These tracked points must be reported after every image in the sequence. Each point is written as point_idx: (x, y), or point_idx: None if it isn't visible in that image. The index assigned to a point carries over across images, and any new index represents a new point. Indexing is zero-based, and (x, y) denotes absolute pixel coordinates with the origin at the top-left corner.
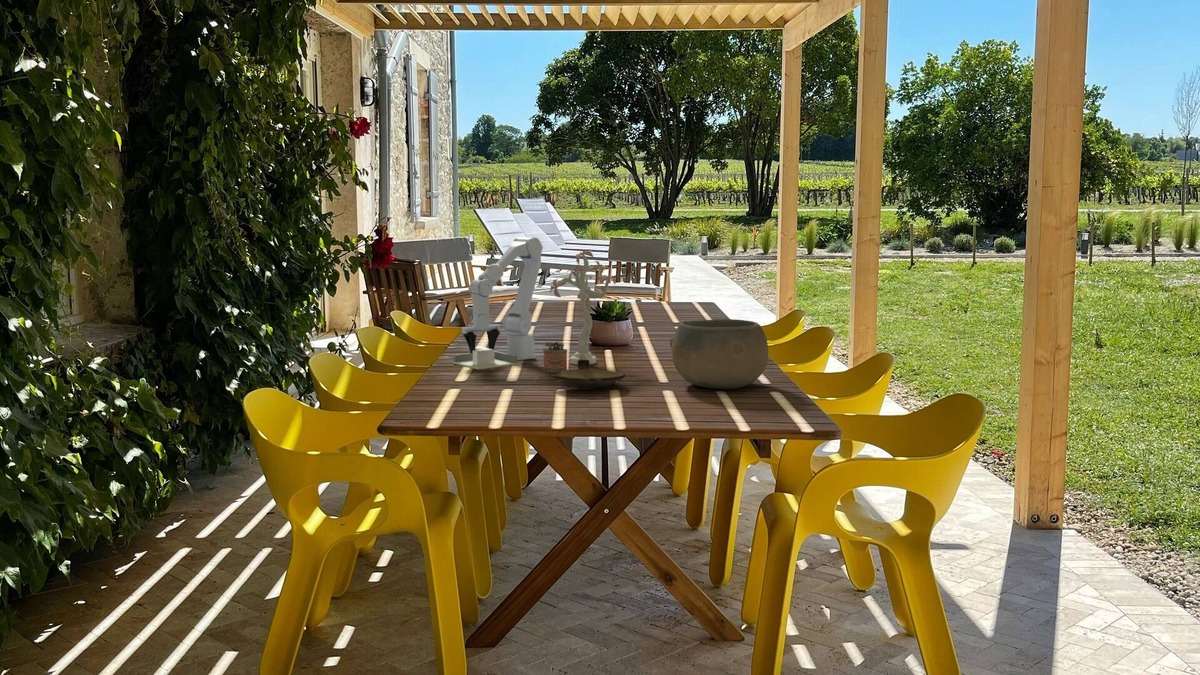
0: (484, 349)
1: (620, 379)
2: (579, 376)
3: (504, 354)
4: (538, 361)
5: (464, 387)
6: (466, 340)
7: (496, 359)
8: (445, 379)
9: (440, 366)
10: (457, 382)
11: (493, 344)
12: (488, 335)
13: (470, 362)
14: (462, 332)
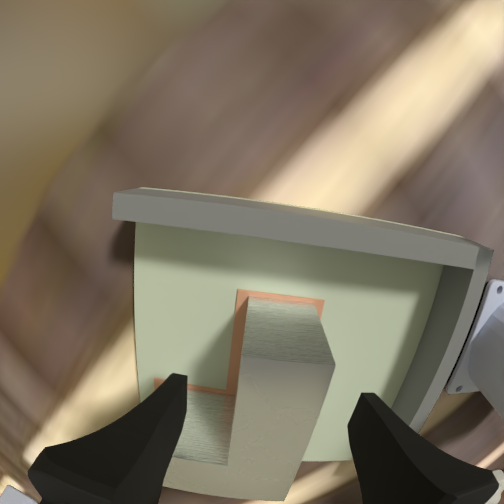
0: (233, 476)
1: None
2: None
3: (410, 418)
4: (469, 434)
5: (33, 492)
6: (99, 433)
7: (410, 335)
8: (3, 429)
9: (38, 219)
10: (25, 467)
11: (362, 472)
12: (410, 489)
13: (209, 305)
14: (7, 494)
